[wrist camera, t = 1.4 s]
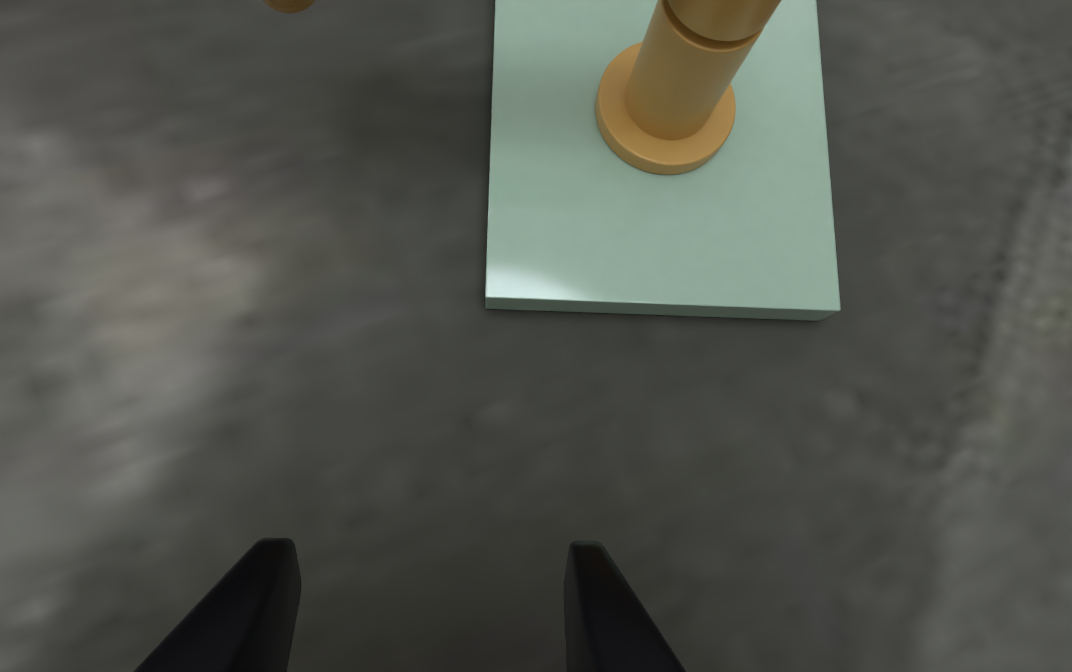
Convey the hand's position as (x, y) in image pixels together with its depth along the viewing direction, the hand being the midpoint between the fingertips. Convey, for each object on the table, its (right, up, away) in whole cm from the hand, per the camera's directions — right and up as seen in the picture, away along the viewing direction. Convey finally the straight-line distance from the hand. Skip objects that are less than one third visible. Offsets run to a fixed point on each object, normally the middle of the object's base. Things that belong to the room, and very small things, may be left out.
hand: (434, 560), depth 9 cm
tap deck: (+6, +11, +17) cm, 21 cm away
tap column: (+6, +11, +15) cm, 20 cm away
